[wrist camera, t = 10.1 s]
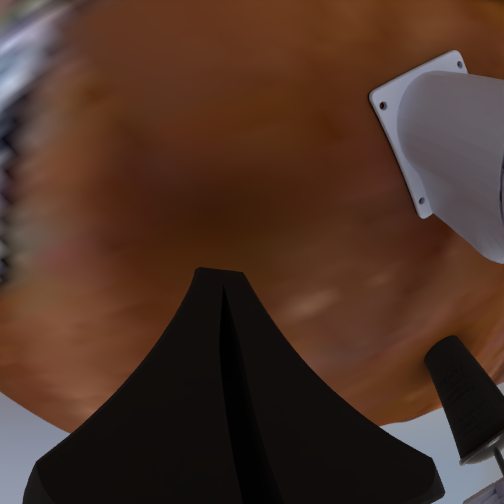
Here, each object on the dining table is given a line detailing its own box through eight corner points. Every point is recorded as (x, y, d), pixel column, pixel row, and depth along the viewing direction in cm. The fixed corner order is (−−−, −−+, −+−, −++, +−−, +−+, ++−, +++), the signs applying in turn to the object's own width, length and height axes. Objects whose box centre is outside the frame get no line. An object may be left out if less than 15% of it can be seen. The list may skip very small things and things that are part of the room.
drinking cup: (414, 346, 27) (492, 510, 10) (471, 315, 26) (558, 458, 9) (412, 380, 31) (470, 516, 14) (462, 353, 30) (527, 476, 13)
